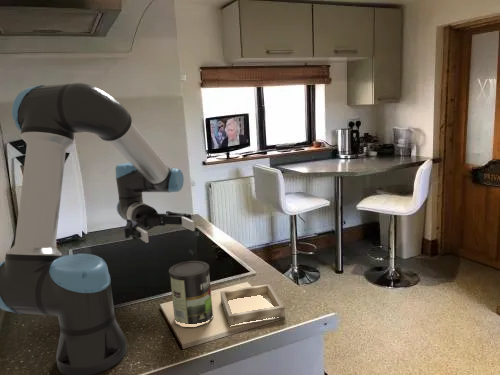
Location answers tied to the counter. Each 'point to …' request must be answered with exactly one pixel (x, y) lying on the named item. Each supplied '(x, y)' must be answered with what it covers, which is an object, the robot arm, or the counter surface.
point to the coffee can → (191, 292)
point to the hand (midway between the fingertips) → (170, 231)
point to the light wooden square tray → (254, 314)
